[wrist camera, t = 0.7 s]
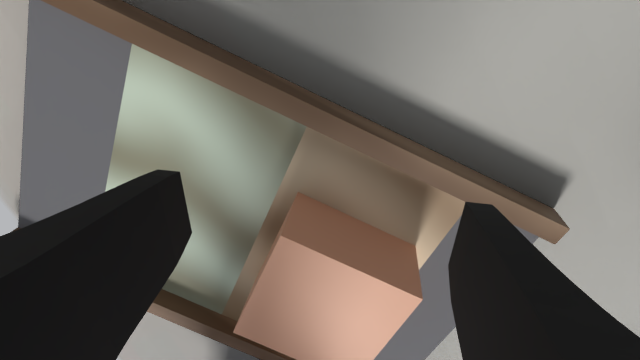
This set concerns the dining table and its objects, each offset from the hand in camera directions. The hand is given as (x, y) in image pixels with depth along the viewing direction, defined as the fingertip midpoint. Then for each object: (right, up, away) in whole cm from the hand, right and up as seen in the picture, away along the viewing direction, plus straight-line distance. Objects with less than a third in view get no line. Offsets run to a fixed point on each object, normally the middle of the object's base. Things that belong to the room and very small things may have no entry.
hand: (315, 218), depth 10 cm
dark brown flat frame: (-4, -2, +12) cm, 13 cm away
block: (+1, -4, +12) cm, 13 cm away
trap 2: (-14, +3, +12) cm, 18 cm away
